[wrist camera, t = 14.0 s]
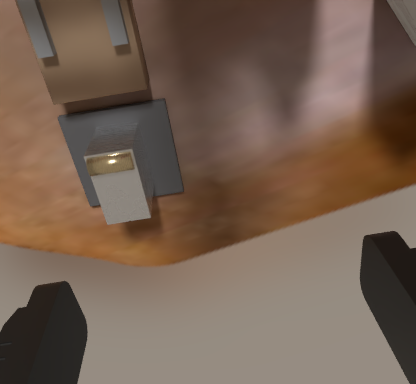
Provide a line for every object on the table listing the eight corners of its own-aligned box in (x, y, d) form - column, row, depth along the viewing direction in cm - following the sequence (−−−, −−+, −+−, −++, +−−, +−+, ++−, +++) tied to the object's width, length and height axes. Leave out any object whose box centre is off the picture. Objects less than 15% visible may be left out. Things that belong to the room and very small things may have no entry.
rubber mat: (59, 115, 37) (57, 118, 36) (164, 98, 37) (164, 100, 36) (91, 203, 42) (90, 206, 42) (183, 188, 42) (183, 191, 42)
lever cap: (96, 127, 37) (81, 161, 31) (138, 120, 37) (131, 153, 31) (116, 189, 41) (106, 230, 35) (154, 183, 41) (150, 223, 35)
